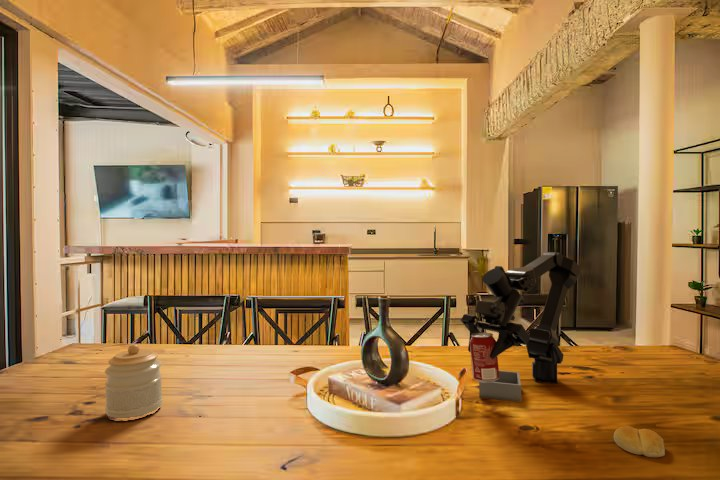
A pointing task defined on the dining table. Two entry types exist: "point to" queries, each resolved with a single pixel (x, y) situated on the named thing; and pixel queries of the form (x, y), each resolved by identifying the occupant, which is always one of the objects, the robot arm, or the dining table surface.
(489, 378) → the soda can
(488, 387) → the grey crate
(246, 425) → the dining table surface
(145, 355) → the jar
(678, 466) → the dining table surface
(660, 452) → the bread roll
